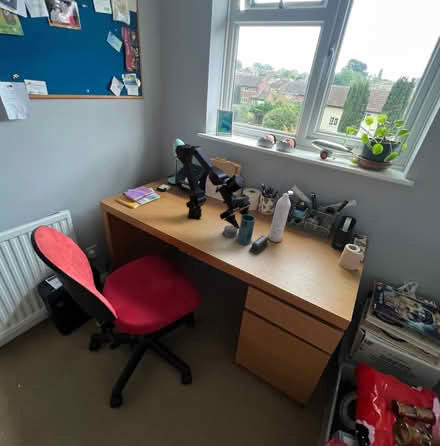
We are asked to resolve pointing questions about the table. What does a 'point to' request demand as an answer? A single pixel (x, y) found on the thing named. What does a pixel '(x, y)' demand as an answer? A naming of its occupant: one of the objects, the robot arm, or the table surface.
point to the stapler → (259, 244)
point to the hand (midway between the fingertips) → (244, 225)
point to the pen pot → (246, 229)
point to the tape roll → (230, 231)
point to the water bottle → (280, 217)
